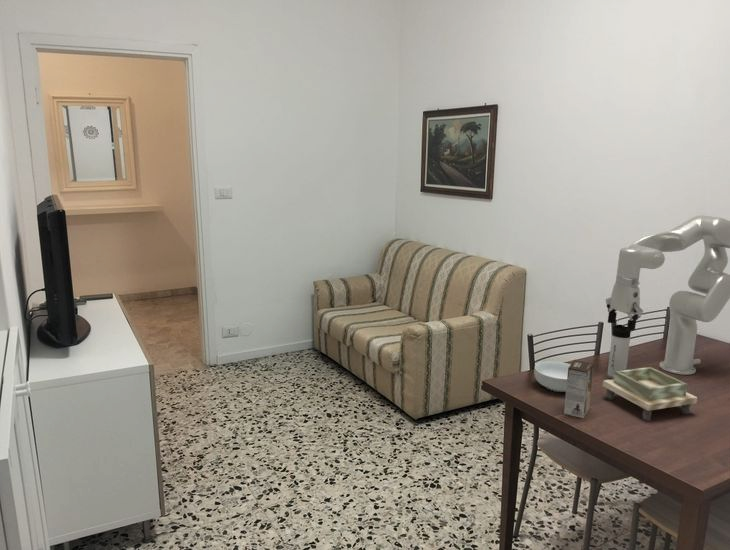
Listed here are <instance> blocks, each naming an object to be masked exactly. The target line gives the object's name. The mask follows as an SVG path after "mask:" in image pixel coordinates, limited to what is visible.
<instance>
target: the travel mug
mask: <svg viewBox="0 0 730 550" xmlns="http://www.w3.org/2000/svg"><path fill="white" fill-rule="evenodd" d="M631 333H632V331H628V330H627V325H626V326H625V325H622V324H616V325H613V326H612V332H611V341H610V348H609V349H610V350H609V358H608V367H607V378H609V379H610V378H611V379H610V380H612V379H614V374H615V371H623V370H627V367H628V360H629V352H630V343H631Z"/></svg>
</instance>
